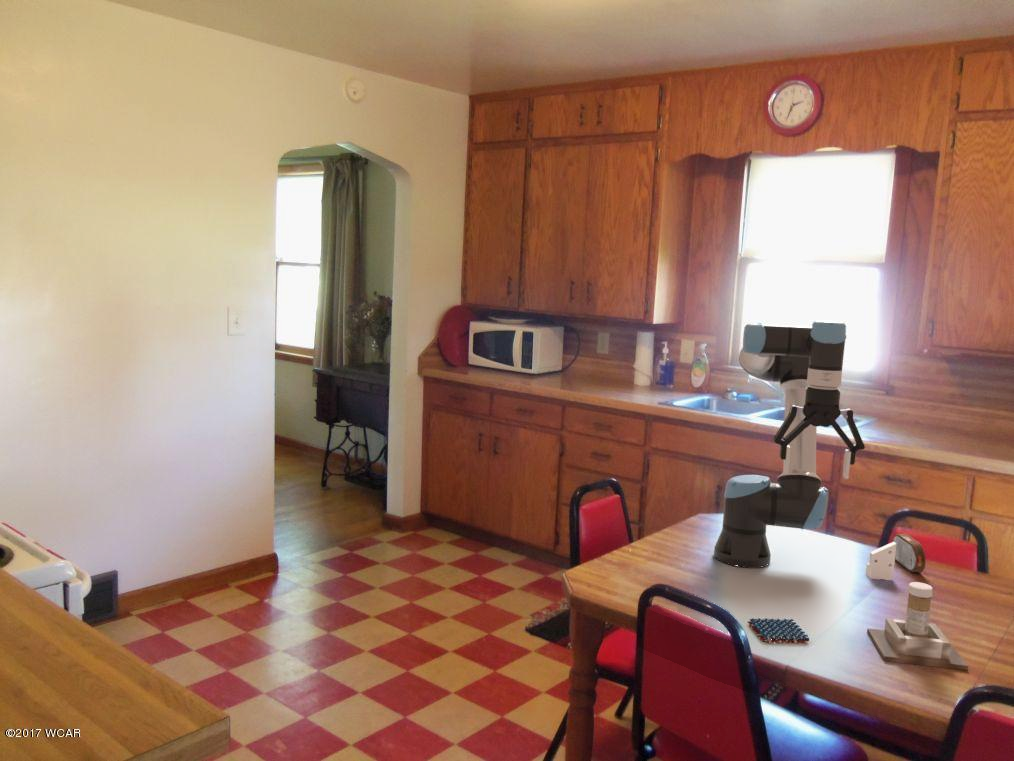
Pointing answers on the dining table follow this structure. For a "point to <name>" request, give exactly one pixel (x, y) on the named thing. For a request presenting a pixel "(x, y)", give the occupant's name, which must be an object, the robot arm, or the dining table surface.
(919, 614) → the sprinkles bottle
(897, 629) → the frame
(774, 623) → the woven mat
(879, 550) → the white angled block
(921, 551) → the tin
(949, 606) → the dining table surface
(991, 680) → the dining table surface
